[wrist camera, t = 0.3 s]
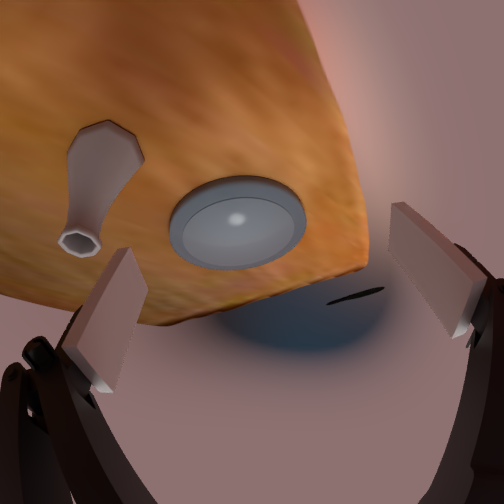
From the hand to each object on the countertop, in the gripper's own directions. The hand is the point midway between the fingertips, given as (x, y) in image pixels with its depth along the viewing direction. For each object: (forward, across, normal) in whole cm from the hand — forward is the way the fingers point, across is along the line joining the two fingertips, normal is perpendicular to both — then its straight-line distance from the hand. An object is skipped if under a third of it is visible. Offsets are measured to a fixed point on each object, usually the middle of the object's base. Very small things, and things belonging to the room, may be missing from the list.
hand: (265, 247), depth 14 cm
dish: (+19, -3, -8) cm, 21 cm away
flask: (+13, -13, +5) cm, 19 cm away
